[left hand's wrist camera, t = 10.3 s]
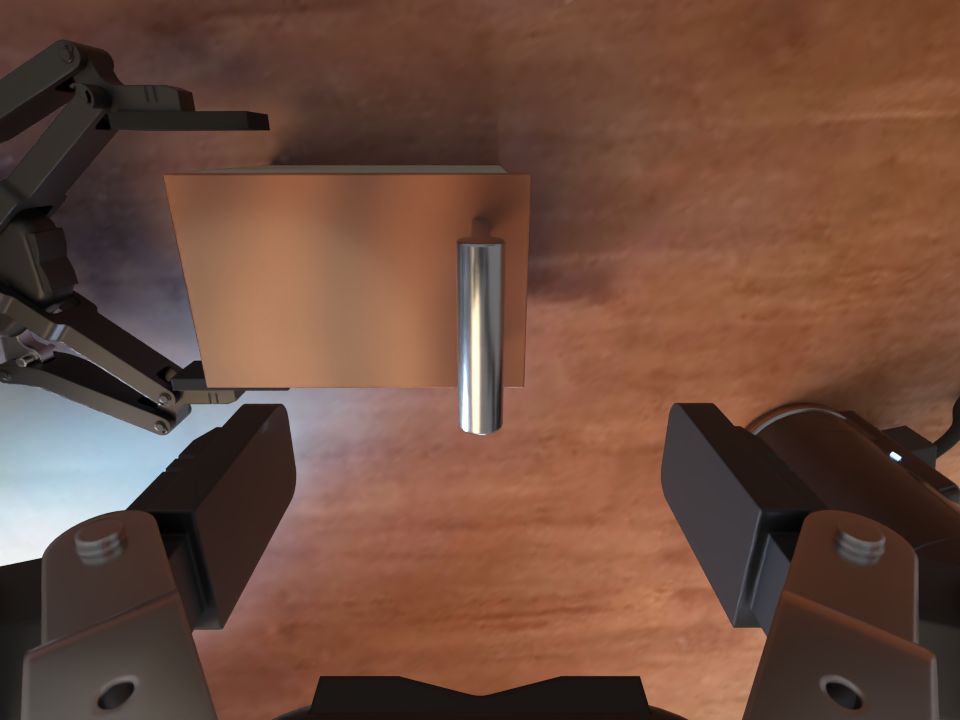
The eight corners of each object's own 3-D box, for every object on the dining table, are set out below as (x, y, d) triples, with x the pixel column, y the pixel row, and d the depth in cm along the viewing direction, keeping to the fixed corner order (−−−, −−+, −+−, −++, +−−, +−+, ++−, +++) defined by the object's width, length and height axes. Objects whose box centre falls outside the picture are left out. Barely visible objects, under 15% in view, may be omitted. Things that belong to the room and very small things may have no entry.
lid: (528, 173, 23) (555, 186, 15) (522, 377, 26) (540, 476, 19) (177, 173, 23) (18, 186, 15) (218, 378, 26) (107, 476, 18)
